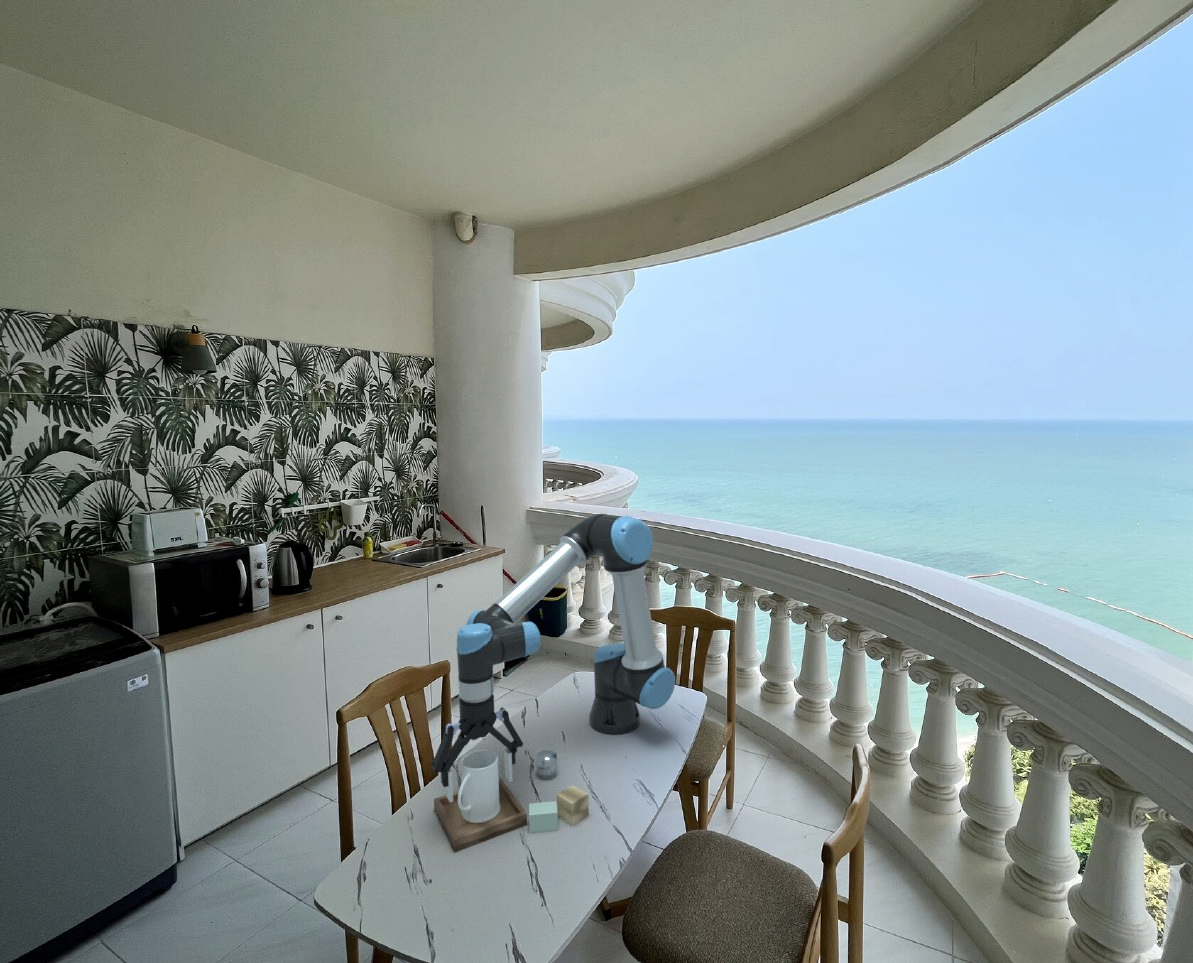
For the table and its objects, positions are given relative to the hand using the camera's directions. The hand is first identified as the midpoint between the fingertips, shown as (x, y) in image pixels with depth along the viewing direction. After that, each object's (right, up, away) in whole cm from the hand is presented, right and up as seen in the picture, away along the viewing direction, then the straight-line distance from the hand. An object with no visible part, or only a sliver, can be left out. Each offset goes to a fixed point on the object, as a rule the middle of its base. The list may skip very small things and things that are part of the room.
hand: (480, 788), depth 124 cm
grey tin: (+14, -5, +16) cm, 22 cm away
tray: (0, -6, 0) cm, 6 cm away
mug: (-1, -6, -1) cm, 6 cm away
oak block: (+21, -6, 0) cm, 22 cm away
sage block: (+14, -7, -3) cm, 16 cm away
